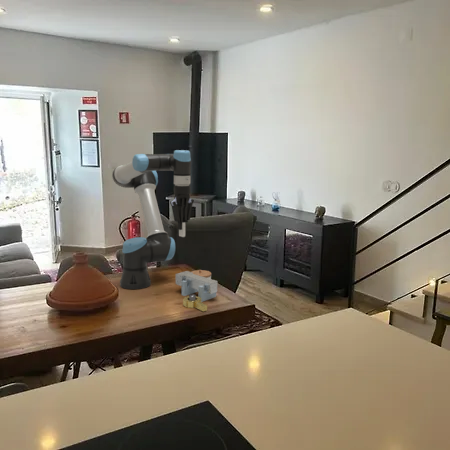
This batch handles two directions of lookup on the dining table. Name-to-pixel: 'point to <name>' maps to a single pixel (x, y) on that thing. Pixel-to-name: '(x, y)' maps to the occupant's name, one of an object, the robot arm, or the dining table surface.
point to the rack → (201, 293)
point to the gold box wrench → (194, 303)
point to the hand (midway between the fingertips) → (182, 236)
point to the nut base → (192, 297)
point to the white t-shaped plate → (196, 281)
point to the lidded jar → (202, 273)
